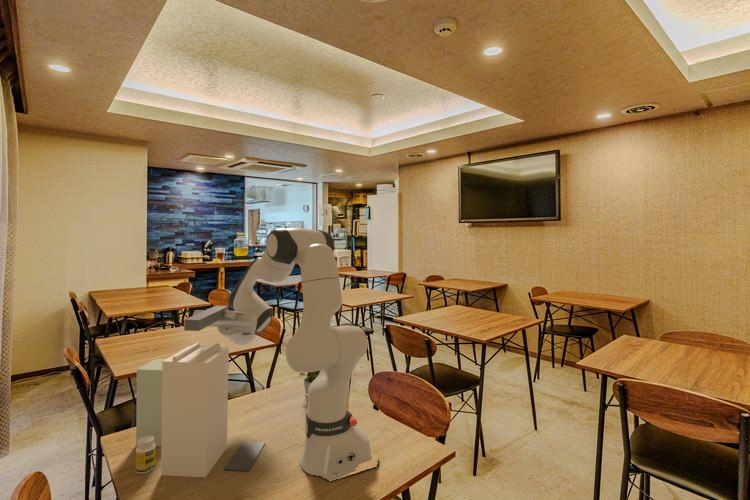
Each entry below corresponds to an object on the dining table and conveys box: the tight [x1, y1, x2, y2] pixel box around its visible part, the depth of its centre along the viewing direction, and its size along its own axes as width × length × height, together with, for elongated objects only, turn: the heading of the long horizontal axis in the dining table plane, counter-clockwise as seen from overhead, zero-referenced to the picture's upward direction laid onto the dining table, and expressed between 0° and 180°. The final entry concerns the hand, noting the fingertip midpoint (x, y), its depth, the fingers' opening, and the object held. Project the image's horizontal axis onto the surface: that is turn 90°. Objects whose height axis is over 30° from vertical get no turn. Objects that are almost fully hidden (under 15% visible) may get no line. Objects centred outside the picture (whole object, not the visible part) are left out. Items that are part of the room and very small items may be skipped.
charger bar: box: [183, 305, 230, 332], centre depth 114 cm, size 20×4×3 cm, turn 179°
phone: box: [223, 441, 266, 473], centre depth 112 cm, size 14×7×1 cm, turn 178°
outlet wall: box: [160, 342, 230, 478], centre depth 109 cm, size 14×12×32 cm
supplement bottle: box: [134, 436, 157, 475], centre depth 104 cm, size 5×5×8 cm
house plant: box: [298, 370, 322, 395], centre depth 155 cm, size 14×14×16 cm
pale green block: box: [135, 358, 167, 447], centre depth 120 cm, size 10×8×24 cm
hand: (216, 311), depth 120 cm, fingers closed on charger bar, 4 cm apart
